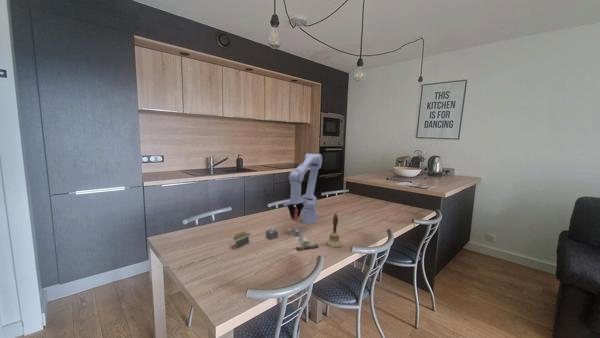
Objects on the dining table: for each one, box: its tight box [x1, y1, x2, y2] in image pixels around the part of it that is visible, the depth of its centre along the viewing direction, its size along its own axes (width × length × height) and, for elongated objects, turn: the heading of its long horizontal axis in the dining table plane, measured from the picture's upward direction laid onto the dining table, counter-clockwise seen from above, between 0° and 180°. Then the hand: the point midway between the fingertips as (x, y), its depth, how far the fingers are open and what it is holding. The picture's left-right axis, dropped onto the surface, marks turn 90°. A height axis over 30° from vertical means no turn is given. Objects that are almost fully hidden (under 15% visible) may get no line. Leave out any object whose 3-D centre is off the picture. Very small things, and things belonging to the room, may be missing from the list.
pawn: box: [290, 206, 300, 222], centre depth 136 cm, size 4×4×7 cm
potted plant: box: [232, 230, 252, 249], centre depth 122 cm, size 12×18×7 cm, turn 142°
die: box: [265, 228, 279, 241], centre depth 130 cm, size 4×4×5 cm
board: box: [287, 227, 319, 252], centre depth 131 cm, size 11×25×1 cm, turn 21°
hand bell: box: [325, 213, 343, 248], centre depth 126 cm, size 8×8×16 cm
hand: (295, 216), depth 136 cm, fingers closed on pawn, 3 cm apart
